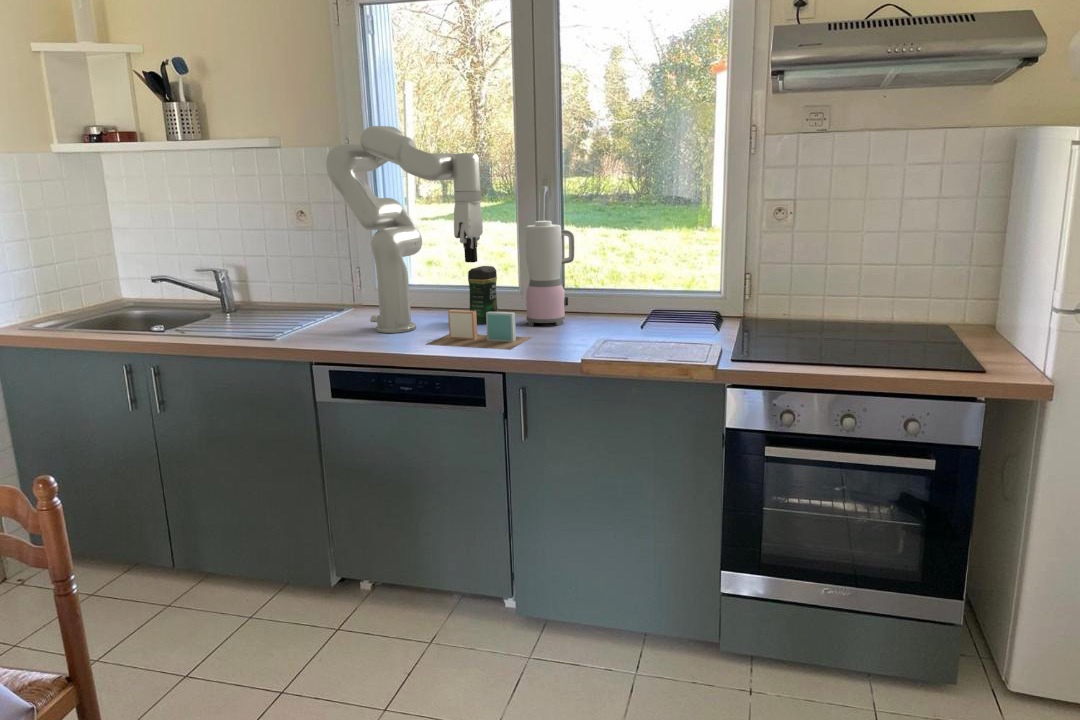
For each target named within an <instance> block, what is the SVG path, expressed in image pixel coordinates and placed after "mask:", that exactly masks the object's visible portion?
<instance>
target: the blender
mask: <svg viewBox="0 0 1080 720" xmlns="http://www.w3.org/2000/svg"><path fill="white" fill-rule="evenodd" d="M522 228H523V229H524V230H525V256H526V257H525V258H526V266H527V271H528V274H529V275H528V276H529V283H528V286H527V288H526V292H525V294H526V295H525V296H526V297H525V301H526V302H525V303H526V304H525V306H526V315H525V316H526V321H527V323H528V326H530V325H533V326H534V325H535V324H534V323H537V324H549V323H551V324H552V323H555V326H561V325H562V323H563V321H564V320H565V319H566V314H565V312H566V311H565V310H566V309H565V307H566V306H569V297H568V296H566V295H565V293H566V292H565V288H564V287H563V285H562V283H561V271H562V265H564V264H569V263H572V262H573V261H574V259H575V236H574V233H573V232H572V231H571V230H567V229H562V226H561V225H560V224H553V223H552V220H537V221H535V222H534V224H532V225H531V224H530V225H527V226H523V227H522ZM562 236H565V237H567V238H568V257H565V258H563V237H562Z"/></svg>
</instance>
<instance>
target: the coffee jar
mask: <svg viewBox="0 0 1080 720" xmlns="http://www.w3.org/2000/svg"><path fill="white" fill-rule="evenodd" d="M497 279H498V277H497V269H496V268H495V267H494V266H492V265H481V266H477V267H474V268H470V269H469V270H468V272H467V282H468V287H469V311H476V316H477V325H482V326H483V325H484V326H485V325H486V326H487V323H486V313H487V312H489V311H490V312H499V311H498V309H499V308H498V299H497Z"/></svg>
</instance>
